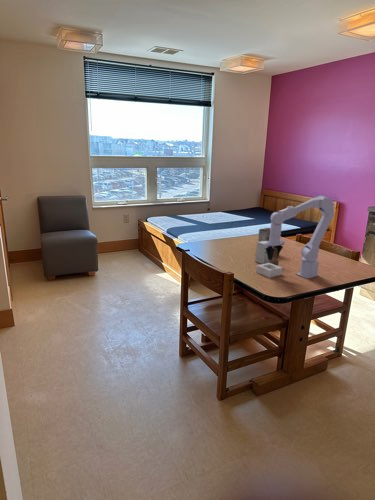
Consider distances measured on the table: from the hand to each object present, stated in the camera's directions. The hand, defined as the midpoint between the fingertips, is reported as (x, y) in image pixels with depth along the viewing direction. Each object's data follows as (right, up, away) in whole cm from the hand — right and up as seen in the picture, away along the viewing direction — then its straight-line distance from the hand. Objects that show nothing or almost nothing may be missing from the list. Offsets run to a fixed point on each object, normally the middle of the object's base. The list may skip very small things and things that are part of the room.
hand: (272, 258), depth 190 cm
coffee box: (+6, +3, +44) cm, 45 cm away
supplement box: (0, -3, +23) cm, 24 cm away
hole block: (-1, -8, +4) cm, 9 cm away
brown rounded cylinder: (0, -2, +1) cm, 2 cm away
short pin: (+5, -5, +15) cm, 16 cm away
